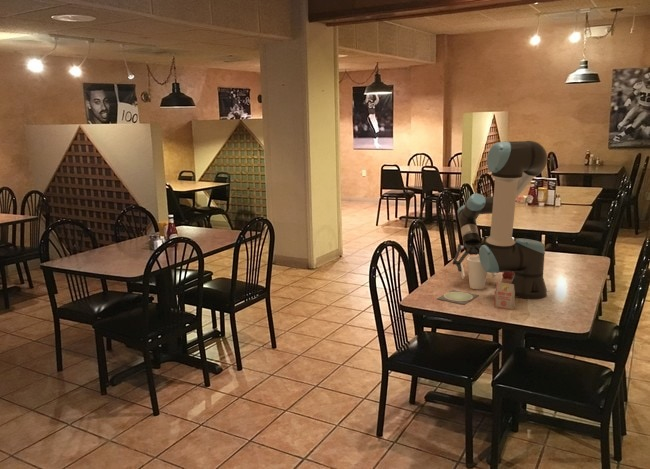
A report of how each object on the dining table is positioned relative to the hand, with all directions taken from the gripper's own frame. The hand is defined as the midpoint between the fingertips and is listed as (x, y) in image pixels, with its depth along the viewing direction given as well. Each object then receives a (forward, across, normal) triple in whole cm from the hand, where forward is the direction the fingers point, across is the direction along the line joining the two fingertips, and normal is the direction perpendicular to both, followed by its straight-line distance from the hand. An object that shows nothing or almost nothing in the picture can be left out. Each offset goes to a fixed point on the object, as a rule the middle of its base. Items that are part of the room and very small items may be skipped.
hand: (478, 277), depth 249 cm
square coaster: (+12, +12, +4) cm, 17 cm away
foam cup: (+2, 0, -5) cm, 6 cm away
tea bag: (+21, -3, +14) cm, 25 cm away
